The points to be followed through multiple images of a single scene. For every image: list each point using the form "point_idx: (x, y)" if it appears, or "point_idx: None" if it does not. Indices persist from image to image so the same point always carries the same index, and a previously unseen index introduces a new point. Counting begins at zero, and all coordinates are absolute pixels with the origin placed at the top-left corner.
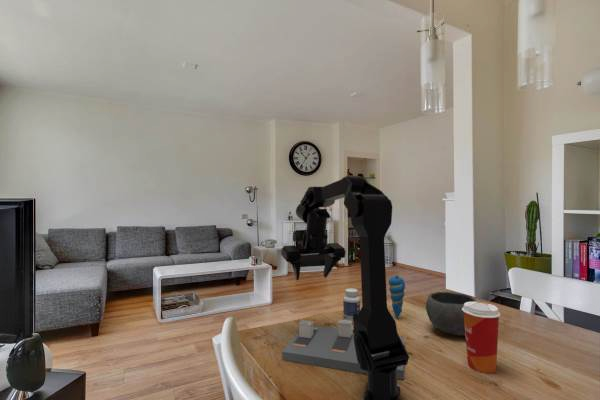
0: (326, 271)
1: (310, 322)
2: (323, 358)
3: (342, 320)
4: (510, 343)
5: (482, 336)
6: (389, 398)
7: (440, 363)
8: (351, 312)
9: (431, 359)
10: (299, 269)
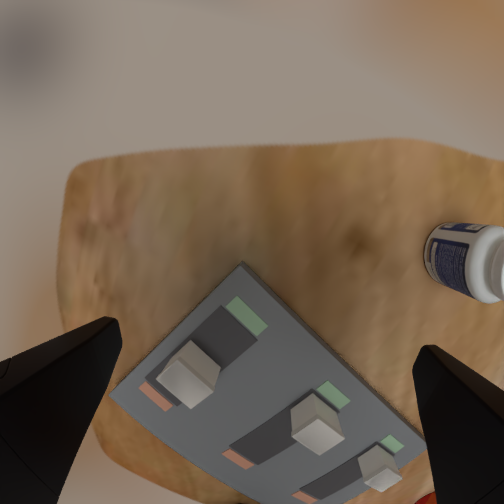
0: (432, 426)
1: (199, 393)
2: (189, 460)
3: (319, 427)
4: None
5: None
6: None
7: (397, 493)
8: (450, 286)
9: (400, 484)
10: (61, 474)
